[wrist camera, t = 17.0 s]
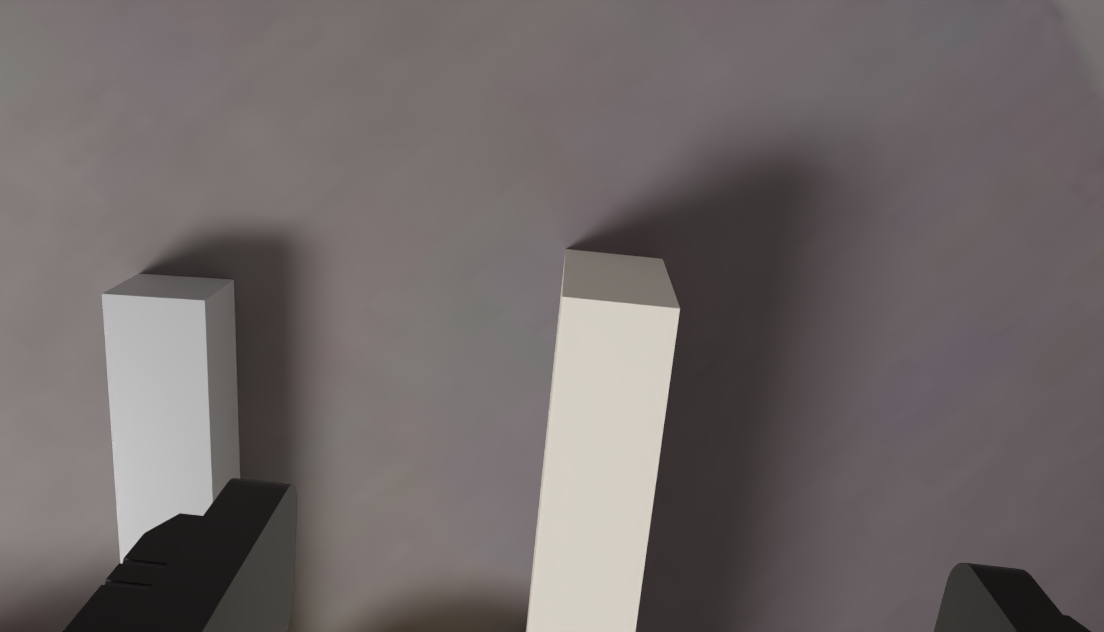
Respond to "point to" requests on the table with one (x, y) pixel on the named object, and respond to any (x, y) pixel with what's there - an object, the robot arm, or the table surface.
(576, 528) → the white bar
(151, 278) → the grey stick
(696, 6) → the table surface
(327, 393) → the table surface
